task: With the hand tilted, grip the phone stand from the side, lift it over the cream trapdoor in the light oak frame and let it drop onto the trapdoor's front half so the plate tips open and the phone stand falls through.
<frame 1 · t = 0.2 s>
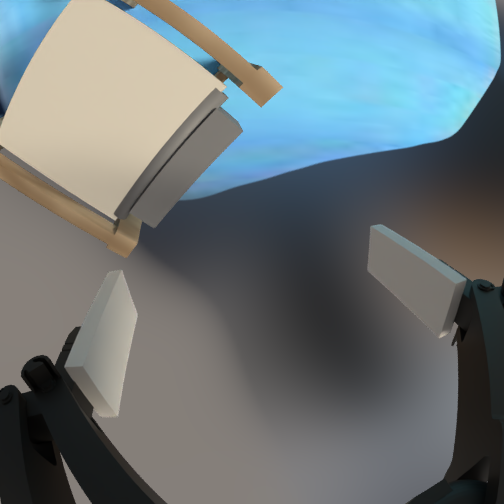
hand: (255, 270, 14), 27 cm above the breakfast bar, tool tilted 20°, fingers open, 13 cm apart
trapdoor frame: (137, 77, 28), on the breakfast bar
trapdoor: (109, 114, 16), point 17 cm above the breakfast bar, hinge at -1.7°
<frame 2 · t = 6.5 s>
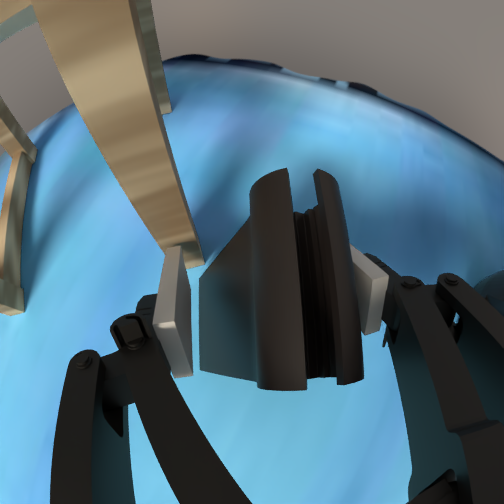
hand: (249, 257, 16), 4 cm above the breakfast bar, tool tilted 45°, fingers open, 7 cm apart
phone stand: (268, 323, 18), on the breakfast bar
trapdoor frame: (84, 193, 21), on the breakfast bar
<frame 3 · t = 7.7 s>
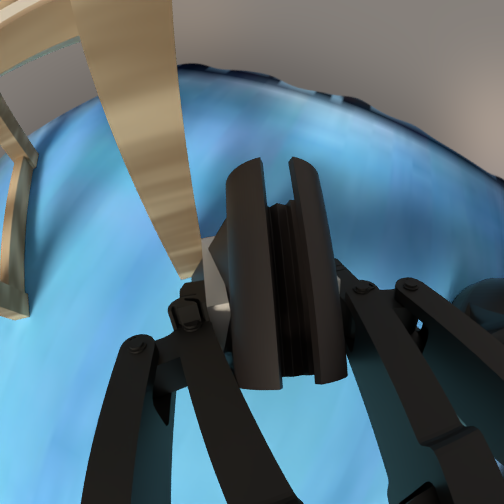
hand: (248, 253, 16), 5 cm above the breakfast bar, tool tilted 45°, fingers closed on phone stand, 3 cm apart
phone stand: (263, 319, 18), point 2 cm above the breakfast bar, touching gripper
trapdoor frame: (88, 201, 22), on the breakfast bar
when the fingers open (25 cm above the breakfast bar, at t = 11.6 s): phone stand drops 4 cm, resting on trapdoor.
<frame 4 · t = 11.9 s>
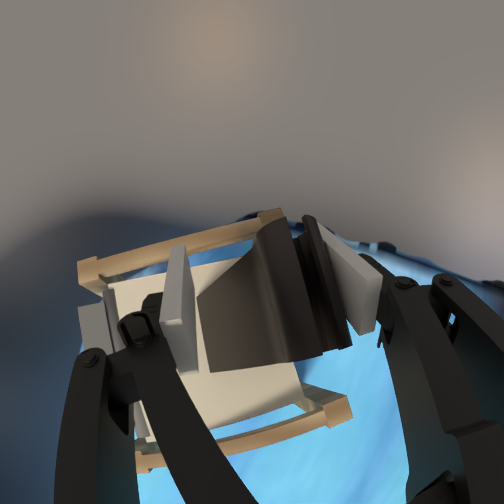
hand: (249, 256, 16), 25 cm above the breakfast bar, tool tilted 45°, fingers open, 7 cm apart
phone stand: (258, 326, 22), point 17 cm above the breakfast bar, touching trapdoor
trapdoor frame: (217, 351, 37), on the breakfast bar
trapdoor: (185, 351, 21), point 17 cm above the breakfast bar, hinge at -9.1°, touching phone stand
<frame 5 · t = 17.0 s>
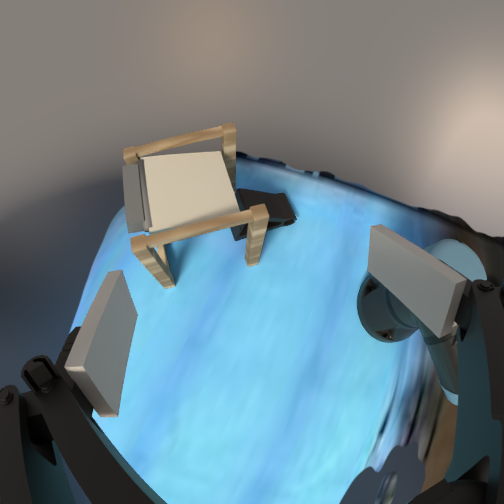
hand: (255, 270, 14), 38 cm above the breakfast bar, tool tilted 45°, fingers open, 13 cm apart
phone stand: (234, 216, 52), point 5 cm above the breakfast bar
trapdoor frame: (200, 234, 56), on the breakfast bar
trapdoor: (177, 191, 40), point 16 cm above the breakfast bar, hinge at -14.1°
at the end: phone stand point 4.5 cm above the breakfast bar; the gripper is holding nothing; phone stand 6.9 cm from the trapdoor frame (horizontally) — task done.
